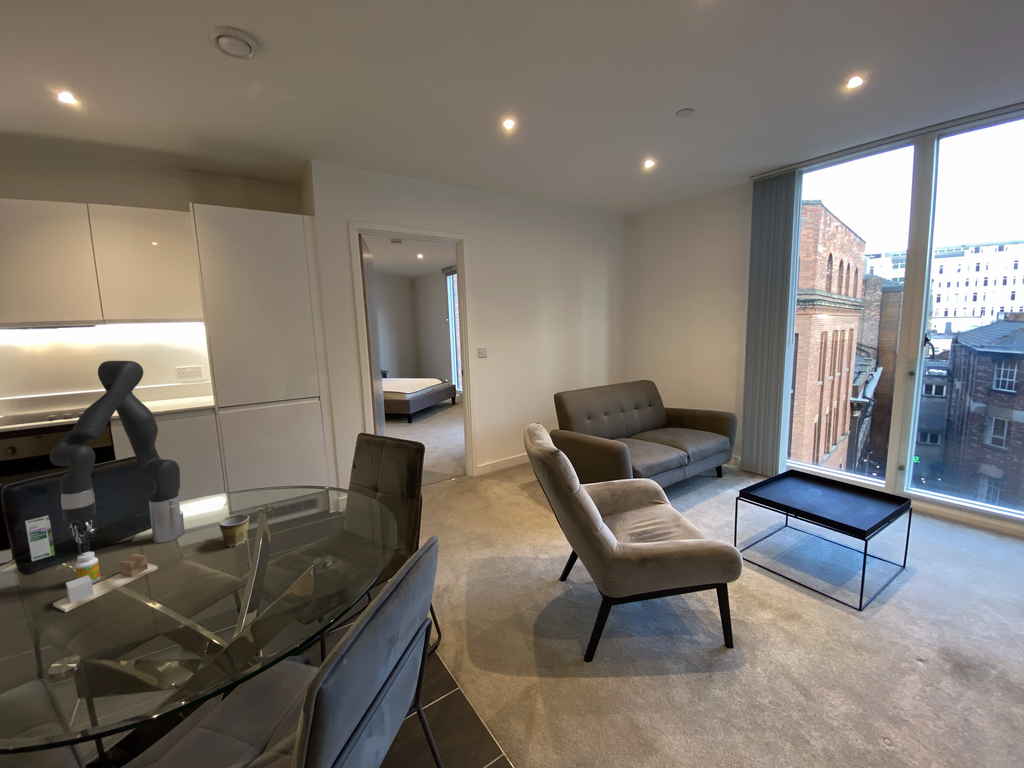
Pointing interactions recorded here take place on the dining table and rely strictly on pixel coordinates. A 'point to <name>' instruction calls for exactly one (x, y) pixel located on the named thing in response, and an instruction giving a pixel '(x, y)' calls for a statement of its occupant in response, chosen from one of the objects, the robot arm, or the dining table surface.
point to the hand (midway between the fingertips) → (84, 551)
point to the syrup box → (40, 538)
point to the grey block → (79, 589)
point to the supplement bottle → (87, 566)
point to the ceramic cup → (234, 529)
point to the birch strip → (102, 588)
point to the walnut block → (133, 565)
